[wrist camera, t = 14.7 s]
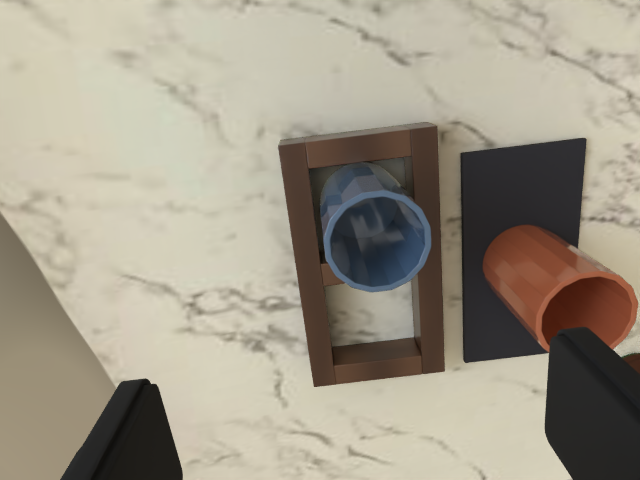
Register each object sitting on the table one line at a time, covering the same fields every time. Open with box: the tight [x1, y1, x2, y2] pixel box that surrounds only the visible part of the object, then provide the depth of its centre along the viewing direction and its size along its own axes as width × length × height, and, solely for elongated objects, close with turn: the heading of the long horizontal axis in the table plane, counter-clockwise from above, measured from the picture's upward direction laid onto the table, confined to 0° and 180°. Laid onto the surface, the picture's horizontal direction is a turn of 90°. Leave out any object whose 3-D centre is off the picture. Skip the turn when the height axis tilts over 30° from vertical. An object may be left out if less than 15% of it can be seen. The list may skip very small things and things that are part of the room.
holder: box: [278, 122, 445, 387], centre depth 39 cm, size 12×22×3 cm, turn 7°
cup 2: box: [483, 225, 638, 352], centre depth 36 cm, size 7×7×10 cm
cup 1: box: [319, 162, 431, 292], centre depth 34 cm, size 7×7×10 cm
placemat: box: [461, 138, 586, 363], centre depth 40 cm, size 20×10×1 cm, turn 7°
